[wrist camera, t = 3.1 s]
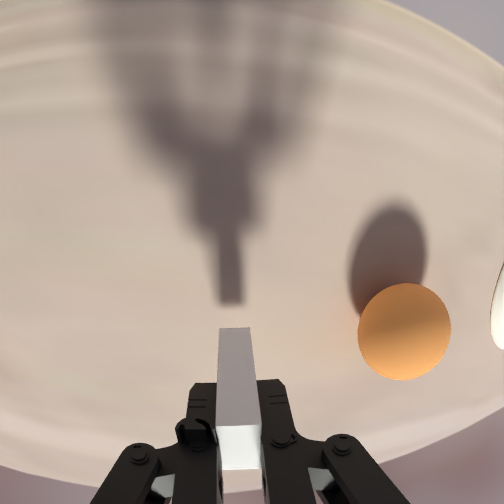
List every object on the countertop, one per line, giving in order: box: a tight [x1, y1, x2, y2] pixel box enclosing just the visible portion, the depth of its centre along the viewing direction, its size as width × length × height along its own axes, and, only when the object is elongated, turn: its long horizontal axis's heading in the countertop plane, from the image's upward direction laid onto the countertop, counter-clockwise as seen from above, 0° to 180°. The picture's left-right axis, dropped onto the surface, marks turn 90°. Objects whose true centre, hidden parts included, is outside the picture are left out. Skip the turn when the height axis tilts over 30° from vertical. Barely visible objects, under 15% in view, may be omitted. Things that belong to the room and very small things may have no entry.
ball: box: [358, 283, 451, 380], centre depth 16 cm, size 6×6×6 cm
